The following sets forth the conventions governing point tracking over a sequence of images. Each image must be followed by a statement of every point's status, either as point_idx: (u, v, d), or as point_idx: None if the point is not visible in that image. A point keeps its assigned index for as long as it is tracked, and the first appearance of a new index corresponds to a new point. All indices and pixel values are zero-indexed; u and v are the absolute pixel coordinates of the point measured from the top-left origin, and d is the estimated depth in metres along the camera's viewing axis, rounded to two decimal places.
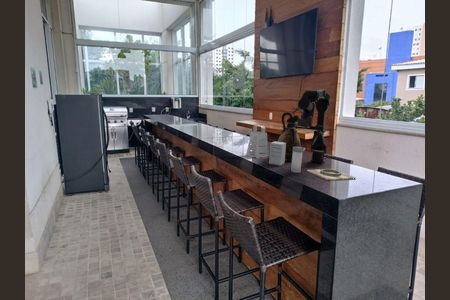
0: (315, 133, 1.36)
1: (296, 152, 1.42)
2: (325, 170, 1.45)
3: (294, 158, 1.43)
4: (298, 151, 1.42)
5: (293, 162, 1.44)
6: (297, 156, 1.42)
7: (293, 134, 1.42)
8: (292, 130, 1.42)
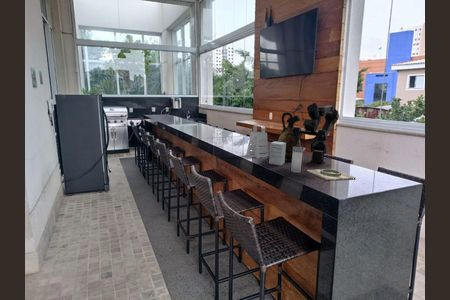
0: (317, 135, 1.47)
1: (296, 152, 1.42)
2: (325, 170, 1.45)
3: (294, 158, 1.43)
4: (298, 151, 1.42)
5: (293, 162, 1.44)
6: (297, 156, 1.42)
7: (297, 136, 1.54)
8: (297, 132, 1.54)
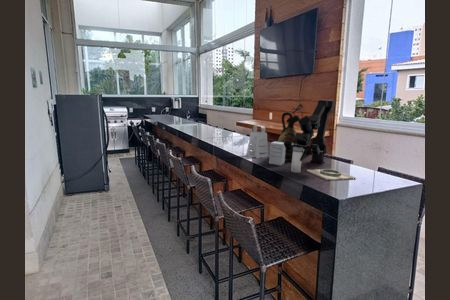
0: (306, 150, 1.42)
1: (296, 151, 1.42)
2: (325, 170, 1.45)
3: (294, 158, 1.43)
4: (298, 151, 1.42)
5: (293, 162, 1.44)
6: (297, 156, 1.42)
7: (292, 151, 1.47)
8: (291, 147, 1.47)
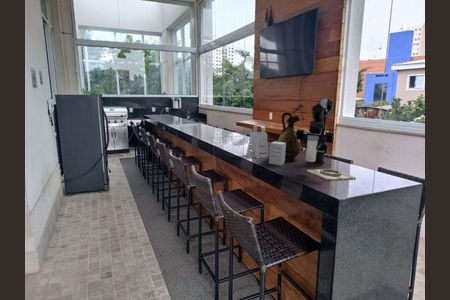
0: (321, 138, 1.39)
1: (312, 140, 1.38)
2: (325, 170, 1.45)
3: (310, 147, 1.39)
4: (314, 139, 1.38)
5: (309, 151, 1.40)
6: (313, 145, 1.38)
7: (306, 140, 1.42)
8: (305, 136, 1.43)
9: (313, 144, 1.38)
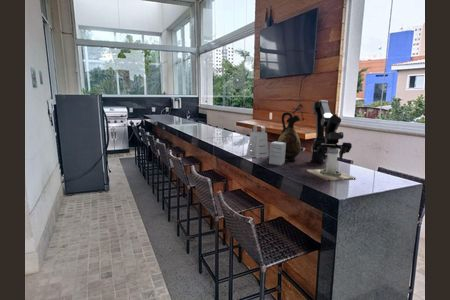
0: (343, 149, 1.40)
1: (334, 153, 1.37)
2: (325, 170, 1.45)
3: (332, 160, 1.38)
4: (336, 152, 1.38)
5: (331, 164, 1.39)
6: (335, 158, 1.38)
7: (323, 151, 1.41)
8: (322, 147, 1.41)
9: (335, 157, 1.38)
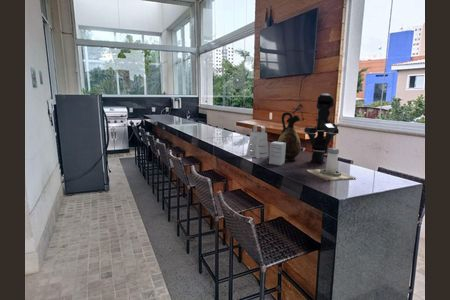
0: (332, 136, 1.52)
1: (335, 153, 1.37)
2: (325, 170, 1.45)
3: (332, 160, 1.38)
4: (337, 153, 1.38)
5: (331, 164, 1.39)
6: (335, 158, 1.38)
7: (313, 138, 1.50)
8: (314, 135, 1.48)
9: (335, 157, 1.38)
